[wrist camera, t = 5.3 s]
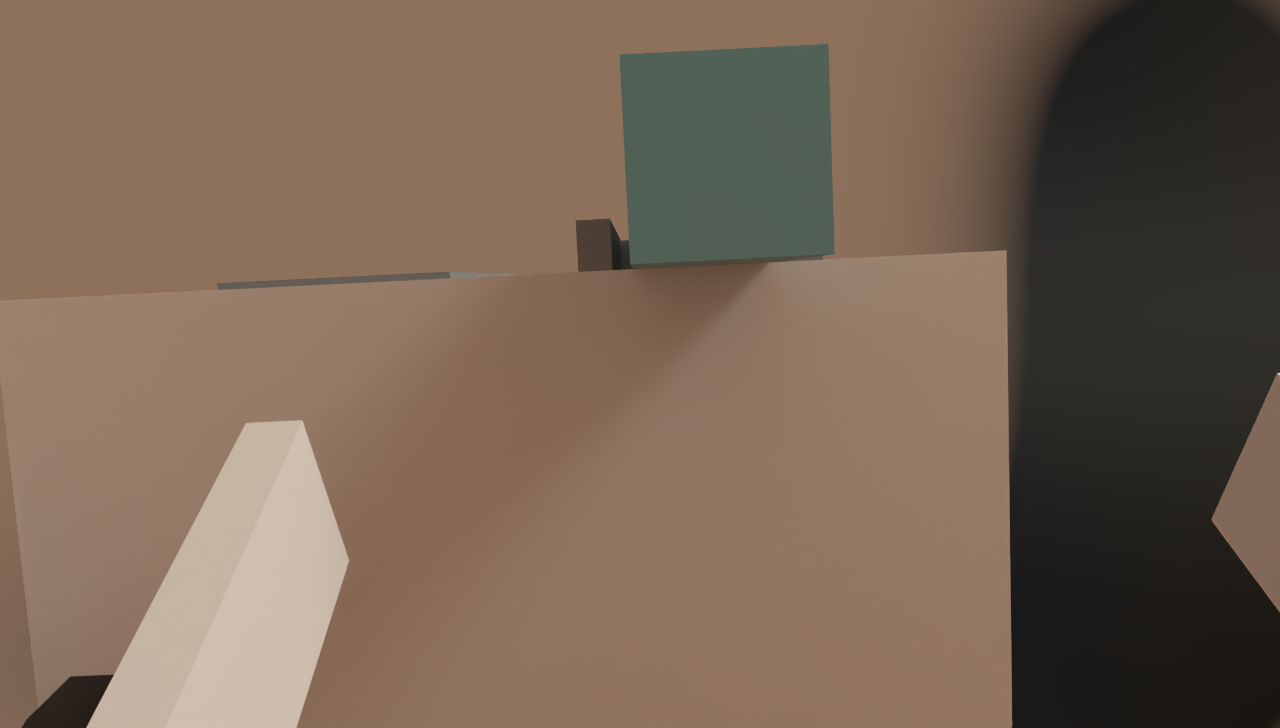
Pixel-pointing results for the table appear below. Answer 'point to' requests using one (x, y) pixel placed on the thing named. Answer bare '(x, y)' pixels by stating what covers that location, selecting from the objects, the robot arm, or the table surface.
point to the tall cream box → (558, 484)
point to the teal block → (727, 156)
